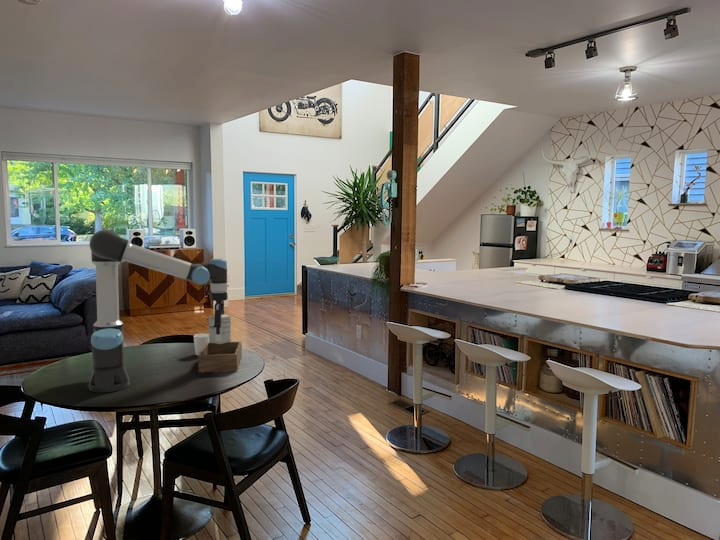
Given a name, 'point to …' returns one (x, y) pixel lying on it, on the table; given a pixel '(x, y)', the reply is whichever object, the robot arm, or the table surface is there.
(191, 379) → the table surface
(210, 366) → the walnut bin
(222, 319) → the supplement box
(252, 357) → the table surface
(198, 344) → the white cup
